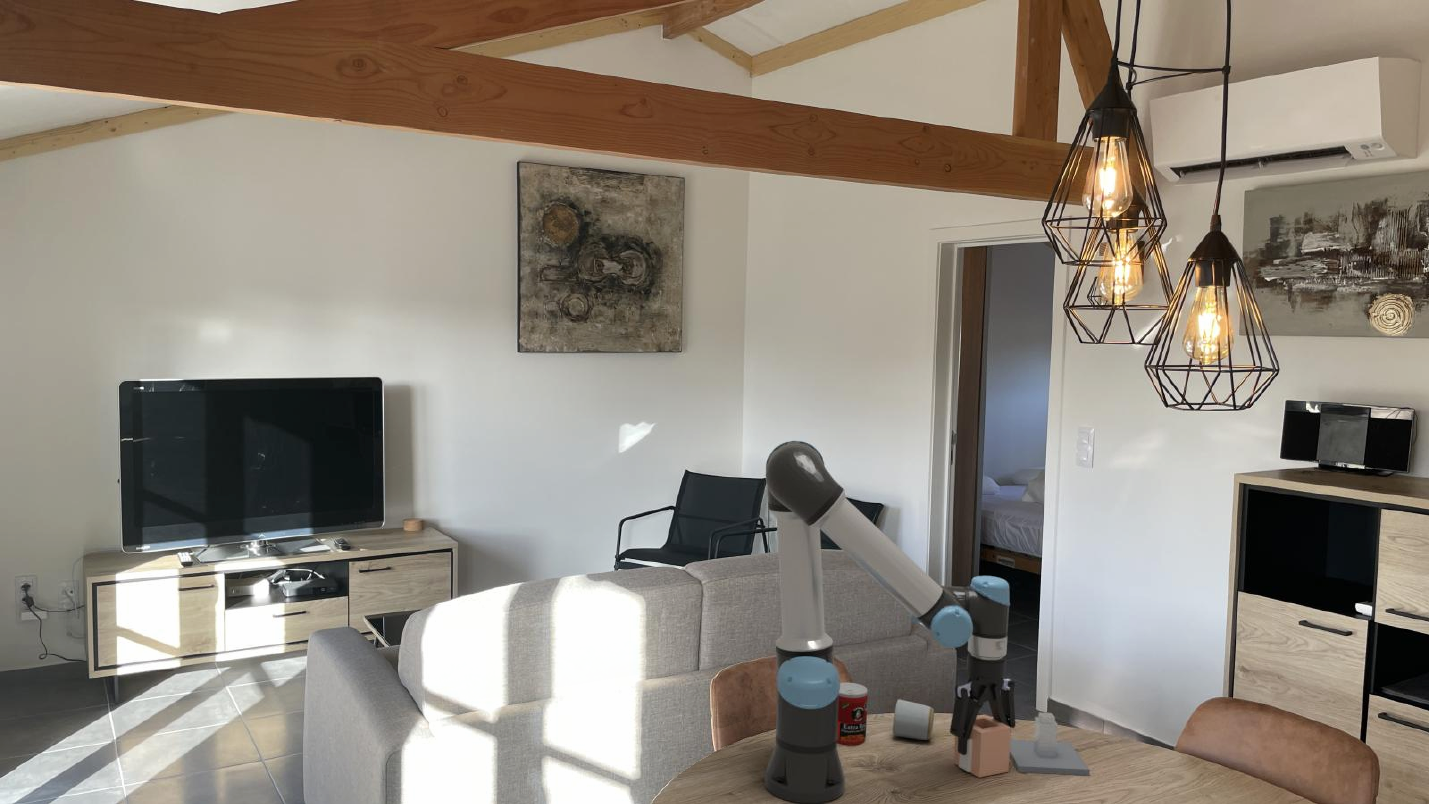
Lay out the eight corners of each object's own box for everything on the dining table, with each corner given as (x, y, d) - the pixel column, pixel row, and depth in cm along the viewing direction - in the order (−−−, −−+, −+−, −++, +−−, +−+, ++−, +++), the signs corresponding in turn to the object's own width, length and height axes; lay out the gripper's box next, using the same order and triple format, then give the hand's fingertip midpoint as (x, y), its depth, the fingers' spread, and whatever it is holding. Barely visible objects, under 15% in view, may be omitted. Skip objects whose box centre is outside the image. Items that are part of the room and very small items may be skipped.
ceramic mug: (930, 746, 218) (932, 710, 218) (892, 740, 221) (893, 705, 220) (934, 729, 228) (936, 695, 228) (897, 724, 231) (898, 690, 230)
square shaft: (1038, 756, 211) (1040, 717, 211) (1033, 749, 215) (1035, 711, 214) (1056, 757, 211) (1058, 718, 210) (1051, 750, 215) (1053, 712, 214)
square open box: (979, 777, 203) (981, 733, 202) (953, 762, 209) (956, 719, 209) (1008, 771, 206) (1011, 727, 206) (982, 757, 213) (984, 714, 212)
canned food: (840, 747, 216) (842, 696, 215) (823, 733, 223) (825, 684, 223) (872, 743, 219) (874, 692, 218) (854, 729, 226) (856, 680, 226)
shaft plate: (1018, 771, 206) (1018, 766, 206) (1002, 744, 220) (1002, 739, 220) (1089, 775, 206) (1089, 769, 206) (1069, 747, 220) (1069, 742, 219)
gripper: (959, 666, 198) (953, 781, 200) (1039, 654, 208) (1032, 765, 209) (934, 654, 205) (928, 766, 206) (1012, 644, 214) (1006, 751, 216)
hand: (981, 765), depth 208 cm, fingers closed on square open box, 8 cm apart
